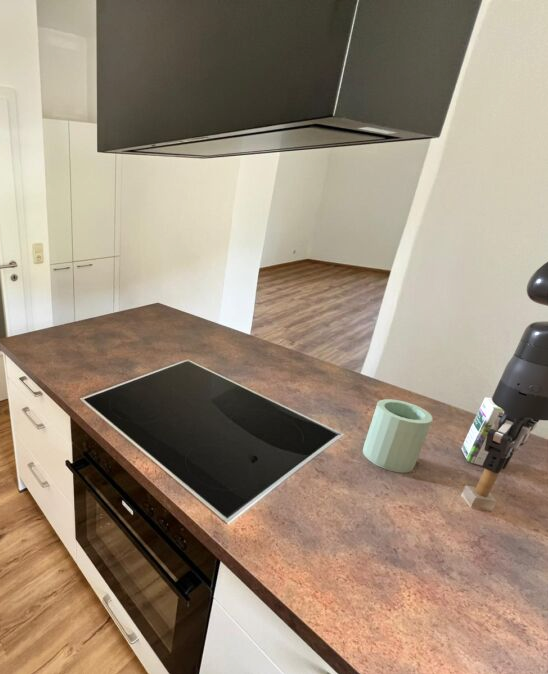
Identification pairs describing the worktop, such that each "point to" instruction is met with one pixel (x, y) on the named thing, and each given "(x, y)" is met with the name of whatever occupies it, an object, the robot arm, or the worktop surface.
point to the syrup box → (480, 432)
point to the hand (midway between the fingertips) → (493, 467)
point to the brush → (481, 492)
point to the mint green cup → (396, 435)
